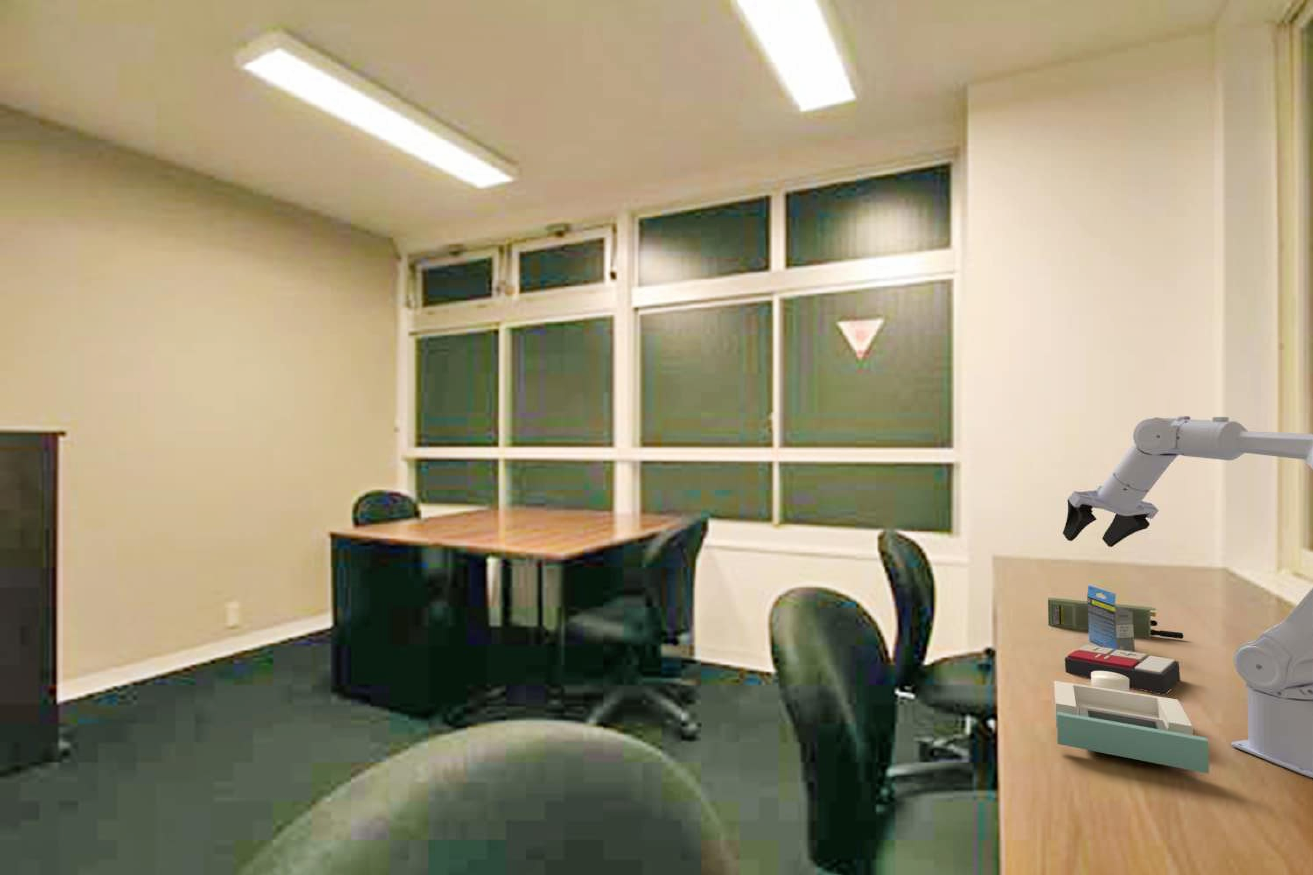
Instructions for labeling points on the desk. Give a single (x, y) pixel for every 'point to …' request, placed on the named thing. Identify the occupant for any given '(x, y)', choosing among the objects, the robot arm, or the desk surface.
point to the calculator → (1126, 667)
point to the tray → (1132, 738)
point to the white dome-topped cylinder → (1109, 680)
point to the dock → (1121, 704)
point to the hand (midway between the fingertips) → (1087, 539)
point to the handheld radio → (1077, 617)
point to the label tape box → (1109, 621)
